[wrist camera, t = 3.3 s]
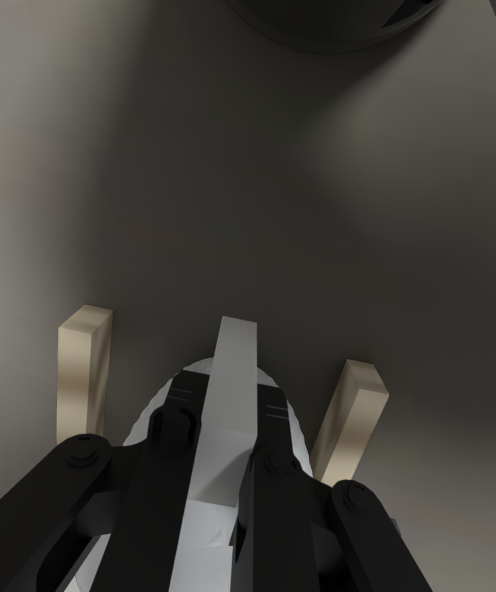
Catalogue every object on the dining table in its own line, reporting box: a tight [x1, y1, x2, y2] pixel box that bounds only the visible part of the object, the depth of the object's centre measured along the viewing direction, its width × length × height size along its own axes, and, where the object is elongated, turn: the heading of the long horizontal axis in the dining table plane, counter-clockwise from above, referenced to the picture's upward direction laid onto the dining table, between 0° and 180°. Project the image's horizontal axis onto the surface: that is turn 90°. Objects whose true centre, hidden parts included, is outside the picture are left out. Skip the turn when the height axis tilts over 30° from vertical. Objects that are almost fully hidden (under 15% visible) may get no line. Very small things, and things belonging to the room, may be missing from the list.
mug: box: [75, 357, 313, 592], centre depth 22 cm, size 15×11×13 cm
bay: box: [56, 304, 390, 487], centre depth 27 cm, size 21×21×5 cm
